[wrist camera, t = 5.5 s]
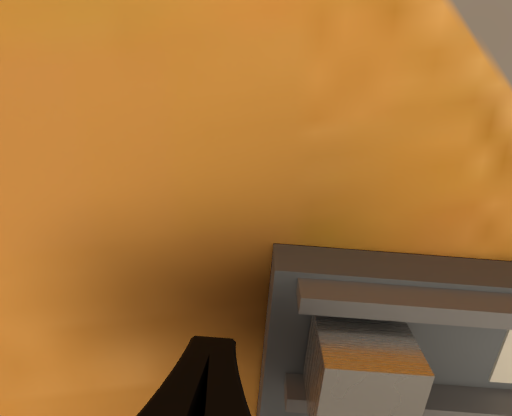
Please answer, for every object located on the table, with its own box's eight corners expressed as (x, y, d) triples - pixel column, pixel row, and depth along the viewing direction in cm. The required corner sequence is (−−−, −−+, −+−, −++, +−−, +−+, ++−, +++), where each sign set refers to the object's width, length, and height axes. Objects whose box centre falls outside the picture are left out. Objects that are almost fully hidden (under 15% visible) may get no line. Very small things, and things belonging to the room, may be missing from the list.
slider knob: (302, 374, 14) (311, 445, 11) (313, 306, 13) (325, 368, 10) (383, 380, 14) (410, 453, 12) (400, 312, 13) (435, 376, 10)
